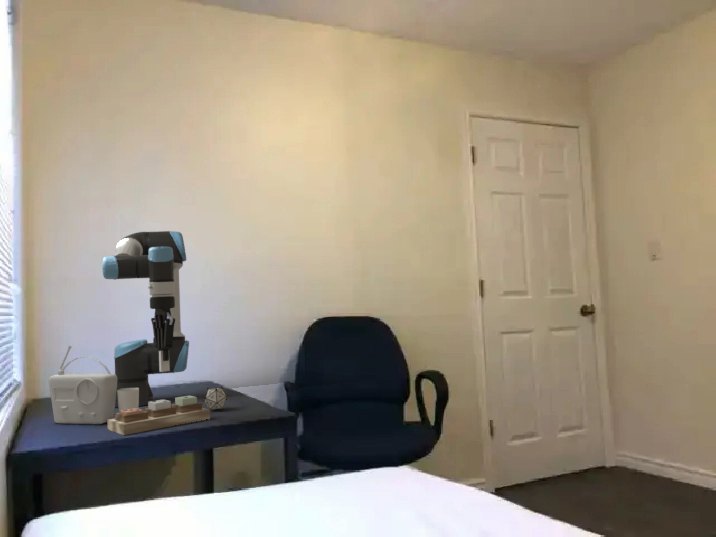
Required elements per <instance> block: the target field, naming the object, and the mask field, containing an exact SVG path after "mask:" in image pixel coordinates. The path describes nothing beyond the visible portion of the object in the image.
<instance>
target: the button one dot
mask: <svg viewBox="0 0 716 537" xmlns="http://www.w3.org/2000/svg"><path fill="white" fill-rule="evenodd" d="M174 399H175V400H174V403H175V404H176V405H180V406H185V405H191V404H197V402H198V398H197V396H193V395H184V396H178V397H175V398H174Z"/></svg>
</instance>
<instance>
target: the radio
mask: <svg viewBox="0 0 716 537" xmlns="http://www.w3.org/2000/svg"><path fill="white" fill-rule="evenodd" d="M72 347H73V345H71V344H70V345H68V348H67V351H66V353H65V355H64V357H63V360H62V362H61V365H60V366H59V370H58V371H57V374H54V375H51V376H50V377H49V379H48V386H49V387H48V388H49V393H50V399H51V400H50V401H51V407H52V412H53V421H54V422H55V423H56V424H64V425H65V424H66V425H67V424H69V425H70V424H71V425H76V424H77V425H103V424H105V423H106V424H107V420H108V419H114V418H115V409H116V407H115V400H116V390H117V376H116V374H115V372H111V371H110V370H109V369H108V367H107V365H105V364H104V363H103V362H102V361H100V360H98V359H96V358H95V357H89V356H82V357H80V359H81V358H86V359H92V360H94V361H95V362H98V363H99V364H100V365H101V366H102V367H104V369H105V371H106V373H105V372H87V373H85V372H75V373H73V372H70V373H67V372H65V370H66V368H67V367H68V366H69V365H70V364H71V362H74V361H76V360H77V359H79V357H76V358H73V359H72V360H70V361H68V363H66V365H65V366H64V364H65V362H66V360H67V358H68V355H69V353H70V351H71V349H72Z"/></svg>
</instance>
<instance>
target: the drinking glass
mask: <svg viewBox="0 0 716 537" xmlns="http://www.w3.org/2000/svg"><path fill="white" fill-rule="evenodd" d="M117 395H118V407H117V408H118V413H119V412H120V410H127V409H133V408H138V409H140V408H139V407H140V406H139V388H125V389H119V390H117Z"/></svg>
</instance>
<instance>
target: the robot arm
mask: <svg viewBox="0 0 716 537" xmlns="http://www.w3.org/2000/svg"><path fill="white" fill-rule="evenodd" d="M186 261H187V253H186V248H185V241H184V236H183V234H182V233H181V232H180V231H175V230H174V231H173V230H172V231H171V230H166V231H165V230H161V231H139V232H135V233H131V234H129V235H126V236H124V237H122V238H121V239H120V240H119V241H118V242H117V244H116V246H115V254H114V255H108V256H107V255H106V256H104V257H103V258H102V261H101V262H102V263H101V264H102V276H103V278H104V279H106V280H113V281H114V280H124V279H125V280H126V279H149V280H148V281H149V282H148V284H149V285H148V287H147V289H149V295H150V296H151V297H149V308H150V309H151V310H154V317H152V318H151V319H150V321H151V324H152V332H153V338H152V341H153V342H149V341H148V340H147V339H137V340H132V341H127V342H123V343H119V344H117V345H116V346H115V347H114V356H113V359H114V374H116V376H117V390H119V389H125V388H139V407H141V406H142V407H143V406H147V405H148V402H151V401H155V397H154V393H153V391H152V388H151V386H150V382H149V375H159V374H176V373H181V372H185V371H186V369H187V366H188V357H189V348H190V341H189V340H187V339H186V335H184V334H183V333H182V330H181V329H182V325H181V296H180V294H181V293H180V292H181V291H180V269H182V268H183V266H184V263H185V262H186ZM117 390H116V400H115V408H118V395H117Z"/></svg>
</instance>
